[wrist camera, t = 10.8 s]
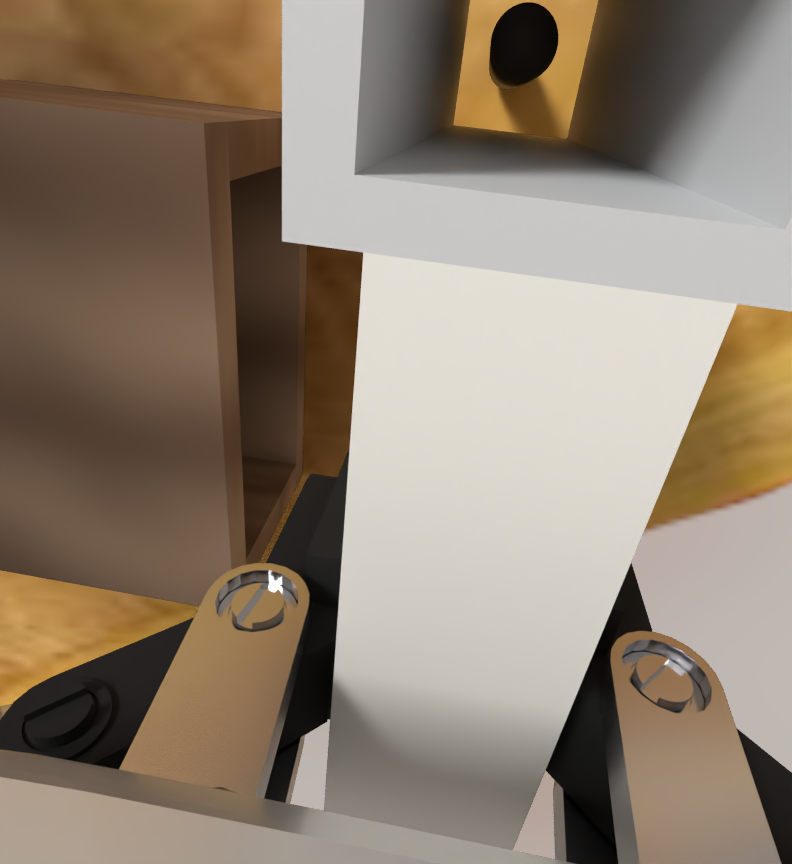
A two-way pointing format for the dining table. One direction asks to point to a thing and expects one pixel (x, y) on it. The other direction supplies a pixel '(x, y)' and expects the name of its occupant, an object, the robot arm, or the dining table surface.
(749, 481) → the dining table surface
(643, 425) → the door
